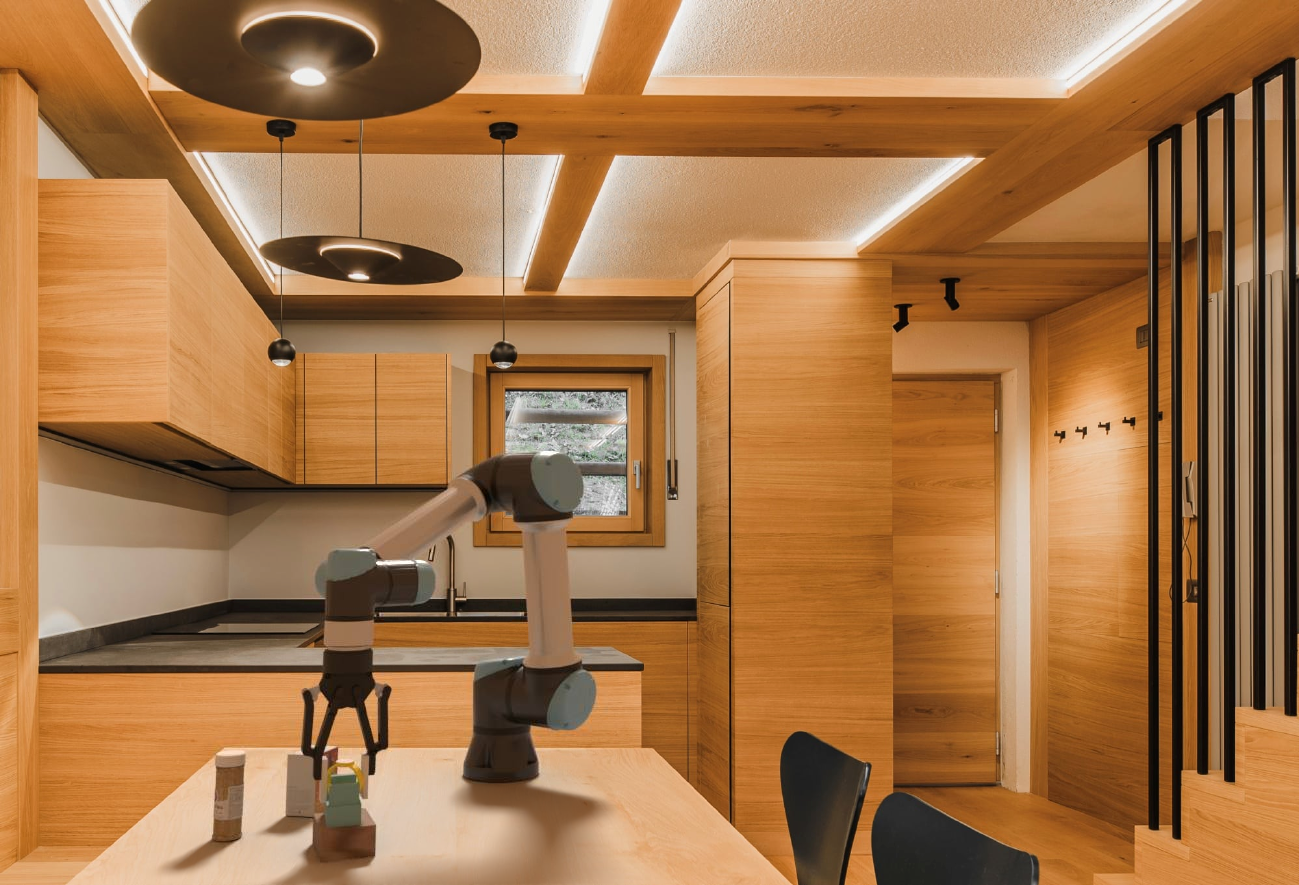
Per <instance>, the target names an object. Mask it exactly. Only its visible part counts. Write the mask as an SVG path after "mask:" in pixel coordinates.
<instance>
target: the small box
mask: <svg viewBox="0 0 1299 885" xmlns="http://www.w3.org/2000/svg"><path fill="white" fill-rule="evenodd" d="M311 747H313V748H314V747H315V744H311ZM323 756H326V757H327V759H328V765H327V772H328V770H329V768H330V767H332V766H333V765H335V764H336V761H337V760H339V746H335V745H326V748H325V751H324V754H323ZM286 762H287V764H286V766H287V767H286V768H287V769H286V788H285V789H286V790H285V791H286V792H285V797H286V798H285V816H289V817H290V816H291V817H303V818H304V817H305V818H313V814H315V813H324V803H321V802H320V800H319V783H320V780H314V778H313V758H312V757H309V756H304V755H303V753H302V751H301V749H298V750H297V751H294V752H291V753H288V754H287V761H286ZM338 768H339V767H336V768H335V769H334V771H333V773H332V774H331V775H338V770H339V769H338ZM326 794H327V792H326Z"/></svg>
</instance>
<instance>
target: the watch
mask: <svg viewBox="0 0 1299 885" xmlns="http://www.w3.org/2000/svg"><path fill="white" fill-rule="evenodd" d="M336 767H338V768H349V769H351V770H352V771H353V772H354V773H355V775H356V777H357V782H359V783H360V793H361V790H362V788H363V784H364V780H363V774H362V772H361V767H360V766H358V765H357V764H356V763H355V760H354V759H351V758H341V759H338V760H337V761H336V764H335V765H333V766H332V767H330V768H329V770H328V772H327V793H328V795H329V784H331V774H332V773H333V771H334V769H335V768H336Z"/></svg>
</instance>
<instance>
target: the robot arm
mask: <svg viewBox="0 0 1299 885" xmlns="http://www.w3.org/2000/svg"><path fill="white" fill-rule="evenodd" d="M582 475H583V474H582V471H581V470H580V468H579V466H578V464H577V462H575V461H574V460H573V459H572V457H570V456H569V455H568V454H566V453H564V452H560V451H549V450H542V451H530V452H527V451H526V452H514V453H513V452H512V453H511V452H509V453H508V452H507V453H501V454H500V453H499V454H496V455H494V456H492V457H489V458H487V459H485V460H482V461H481V462H479V463H477V464H475V465H473V466H472V467H471V468H469V469H468V470H465V471H464V472H462V473H461V474H459V475H458V476H456V477H454V478H453V479H452V480H450V481H449V483H448V485H447V489H446V490H445V491H443V492H441V493H440V494H438V495H437V496H435V497H434V498H432V499H430V500H429V501H428V502H426V503H425V504H423V505H421V506H420V507H419V508H418V509H416V510H414V511H412V512H411V513H410V514H408V515H407V516H405V517H404V518H402V519H400V521H398V522H396V523H395V524H393V525H392V526H390V527H388V528H387V529H386V530H384V531H383V532H381V533H380V534H378V535H376V536H375V537H373V538H372V539H370V540H368V541H367V542H366V543H365V544H363V545H361V546H360V547H358V548H334V549H332V550H331V551H329V553H328V554H327V559H324V560H322V562H320V564H319V566H318V567H317V568H316V570H315V571H316V572H315V574H314V584H315V588H316V591H317V592H318V594H319V596H321V597H322V598H324V599H325V600H324V601H325V602H324V634H323V645H324V646H326V647H327V648H326V649H324V651H323V652H322V655H323V656H322V674H321V675H322V676H321V679H320V681H319V683H318V685H316V686H312V687H310V688H306V687H305V688H303V689H301V696H302V700H303V703H304V705H303V706H304V707H303V720H302V731H301V747H300V750H301V751H302V753H303V755H304V756H309V757H312V758H313V778H314V780H320V783H319V800H320V802H321V803H326V792H327V765H328V759H327V757H326V756H323V754H324V751H325V748H326V746H328V745H327V744H328V741H329V739H330V735H331V731H332V728H333V726H334V722H335V719H336V718H337V715H338V712H339V710H342V709H343V710H344V709H346V708H349V709H355V711H356V715H357V718H358V722H359V726H360V730H361V734H362V737H363V741H364V745H365V750H366V752H361V754H360V756H361V759H360V770H361V772H362V774H363V780H364V784H363V788H362V790H361V793H360V794H359V797H361V799H362V800H368V799H369V776H374V775H375V774H376V766H377V764H376V762H377V754H378V753H380V752H382V751H385V750H388V748H389V700H390V696H391V694H392V690H393V689H392V687H391V686H390V685H389V684H387V683H384V684H382V683H379V682H376V680H375V678H374V675H373V668H374V667H373V663H374V659H373V658H374V650H373V649H372V648H371V646H372V645H373V644H374V641H375V640H374V639H375V638H374V634H375V632H374V630H375V629H374V628H375V627H374V624H375V609H376V608H380V607H397V606H411V607H412V606H414V605H419V604H424V603H426V602H428V601H429V600H430V599H431V598H432V596H434V595H433V594H434V593H435V589H436V579H437V577H436V573H435V571H434V569H433V567H432V566H431V564H430V563H429V562H427V561H425V560H424V559H418V558H419V557H421V556H422V555H424V554H425V553H426V552H428V551H429V550H430V549H432V548H433V547H435V546H437V545H438V544H439V543H441V542H442V541H443V540H445V539H446V538H447V537H449V536H450V535H452V534H453V533H454V532H456V531H458V530H459V529H460V528H462V527H463V526H465V525H466V524H467V523H469V522H474V523H475V522H480V521H481V520H482V519H484V518H485V517H487V516H488V515H492V514H495V513H502V512H512V521H513V524H514V525H515V526H516V527H517V528H518V529H520V531H521V535H522V537H521V539H522V554H523V568H524V571H523V572H524V582H525V583H524V584H525V599H526V614H527V629H528V631H527V632H528V644H529V646H528V647H529V652H528V653H527V655H522V656H521V655H520V656H509V657H508V656H507V657H499V658H493V659H485V660H480V661H479V662H477V664H476V665H475V667H474V674H473V675H474V676H473V681H472V691H473V692H472V736H471V739H470V742H469V746H468V748H467V751H466V753H465V754H466V755H465V757H464V761H463V767H462V775H463V776H464V777H465V778H466V779H470V780H472V781H479V782H486V783H506V782H507V783H508V782H517V781H522V780H523V781H524V780H528V779H532V778H533V777H534V778H535V776H537V775H538V774H539V772H540V770H539V768H540V765H539V764H540V763H539V757H538V754H537V750H536V748H535V745H534V740H533V737H532V734H531V727H537V728H542V729H543V728H544V729H548V730H549V729H550V730H551V731H567V732H569V731H574V730H577V729H579V728H580V727H582V726H583V725H584V723H585V722H586V721H587V720H588V719H589V716H590V715H591V713H592V712H593V709H594V706H595V703H596V700H597V684H596V679H595V678H594V677H593V675H592V674H591V672H589V671H587V670H585V669H583V657H582V655H581V654H580V653H579V652H578V651H576V649H575V648H574V634H573V619H572V617H573V616H572V604H571V603H572V602H571V586H570V572H569V558H568V556H569V555H568V544H567V543H568V539H567V527H568V526H569V524H570V523H571V522H572V521H573V519H574V514H573V511H574V510H576V509H577V508H578V507H579V506H580V504H581V502H582V501H581V499H582V498H583V496H584V490H585V489H584V488H585V487H584V486H585V485H584V479H583V476H582ZM372 691H374V692H375V693H374V694H375V697H376V698H377V741H375V739H374V736H373V735H374V734H373V732H372V728H371V724H370V720H369V715H368V710H367V707H366V703H365V701H366V700H367V698H368V697H369V696H370V695H371V693H372ZM320 693H321V694H322V695H323V697H324V698H325V699H326V701H327V702H328V703H327V705H326V709H325V713H324V717H323V720H322V722H321V723H322V724H321V726H320V728H319V729H320V730H319V732H318V735H317V739H316V742H315V744H314V745H315V747H314V748H313V747H311V745H313V744H312V741H313V729H314V728H313V727H314V716H315V702H317V700H319V699H318V698H319V697H318V696H319V694H320Z"/></svg>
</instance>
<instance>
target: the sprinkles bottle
mask: <svg viewBox="0 0 1299 885" xmlns="http://www.w3.org/2000/svg"><path fill="white" fill-rule="evenodd" d="M246 754H247V753H246V751H244V750H241V749H229V750H228V749H227V750H222V751H219V752H217V753H216V754H215V756H214V765H215V788H214V802H213V824H212V825H213V827H212V835H211V839H212V840H214V841H215V842H230V841H235V840H238V839H240V838H241V837H242V836H243V832H242V826H243V824H242V823H243V814H244V792H245V782H244V781H245V780H244V779H245V766H246V763H247V762H246V761H247V760H246V759H247V755H246Z"/></svg>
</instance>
